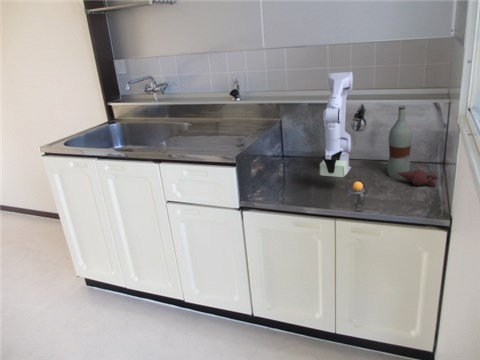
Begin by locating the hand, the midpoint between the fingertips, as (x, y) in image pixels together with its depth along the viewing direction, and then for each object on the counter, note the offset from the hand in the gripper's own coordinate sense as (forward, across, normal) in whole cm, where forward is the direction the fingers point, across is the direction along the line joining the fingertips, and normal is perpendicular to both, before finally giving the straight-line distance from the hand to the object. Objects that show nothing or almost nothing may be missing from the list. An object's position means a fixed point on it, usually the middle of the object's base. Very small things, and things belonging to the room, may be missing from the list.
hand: (333, 169), depth 164 cm
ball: (+6, 0, -10) cm, 12 cm away
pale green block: (+2, 0, 0) cm, 2 cm away
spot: (+8, 0, -9) cm, 13 cm away
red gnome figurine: (+9, +12, -31) cm, 34 cm away
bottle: (+9, +20, -23) cm, 32 cm away
